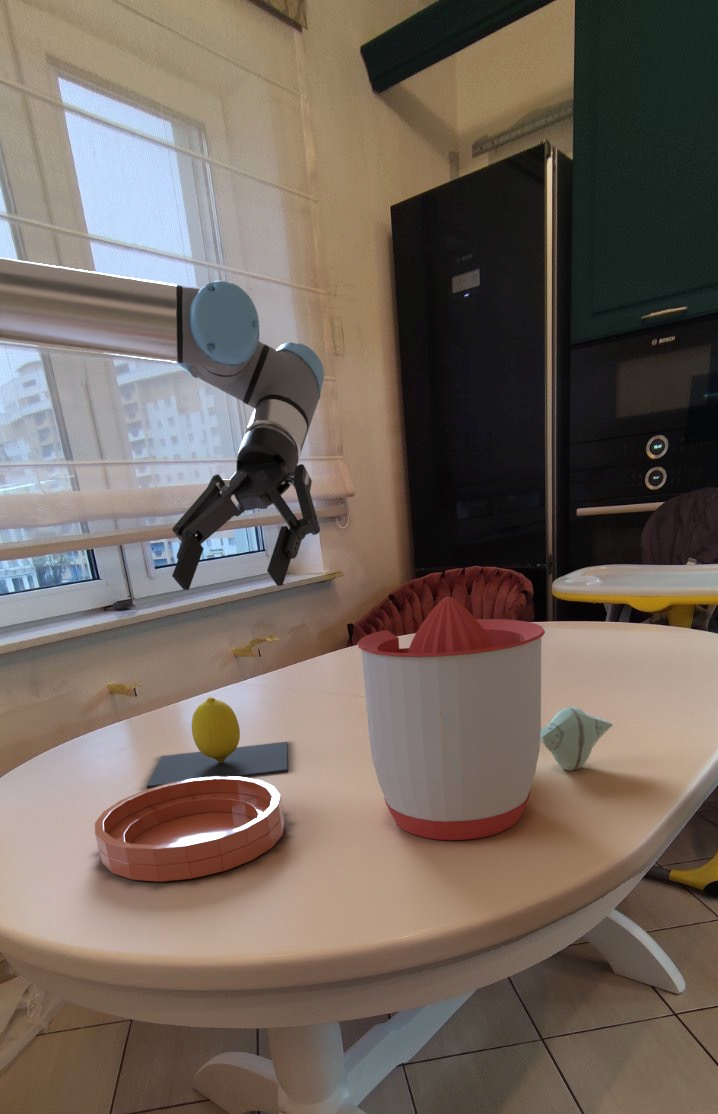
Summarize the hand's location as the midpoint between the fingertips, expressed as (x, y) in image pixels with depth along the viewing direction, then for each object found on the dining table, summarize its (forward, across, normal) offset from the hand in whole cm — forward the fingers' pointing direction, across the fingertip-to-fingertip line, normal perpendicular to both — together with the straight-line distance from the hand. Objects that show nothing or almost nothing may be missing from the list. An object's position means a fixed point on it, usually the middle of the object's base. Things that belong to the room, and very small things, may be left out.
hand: (226, 581), depth 88 cm
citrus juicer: (+27, -33, -3) cm, 42 cm away
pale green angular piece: (+17, -42, -12) cm, 47 cm away
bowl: (+35, -11, +5) cm, 37 cm away
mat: (+21, -1, -8) cm, 23 cm away
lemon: (+20, -1, -8) cm, 22 cm away
